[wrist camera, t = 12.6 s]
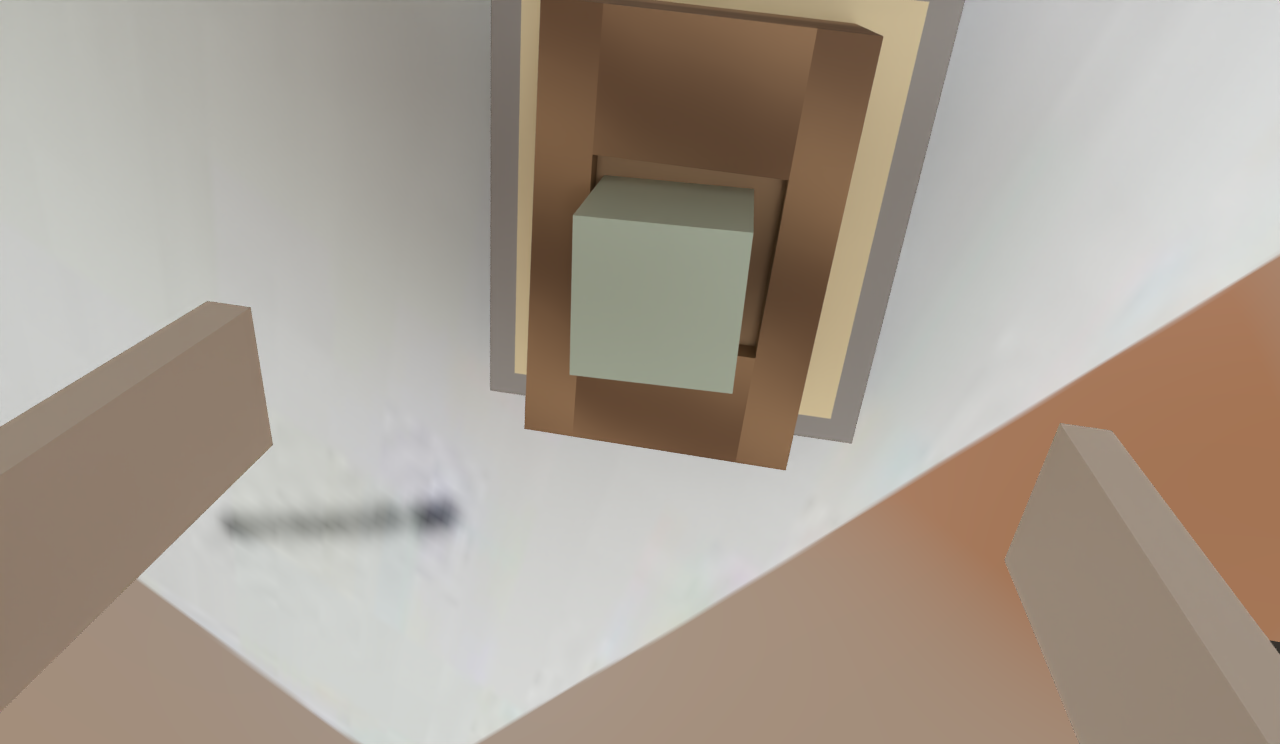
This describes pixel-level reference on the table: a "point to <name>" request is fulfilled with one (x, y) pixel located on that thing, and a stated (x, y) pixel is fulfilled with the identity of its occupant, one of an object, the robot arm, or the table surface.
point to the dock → (873, 216)
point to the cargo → (660, 282)
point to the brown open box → (702, 154)
